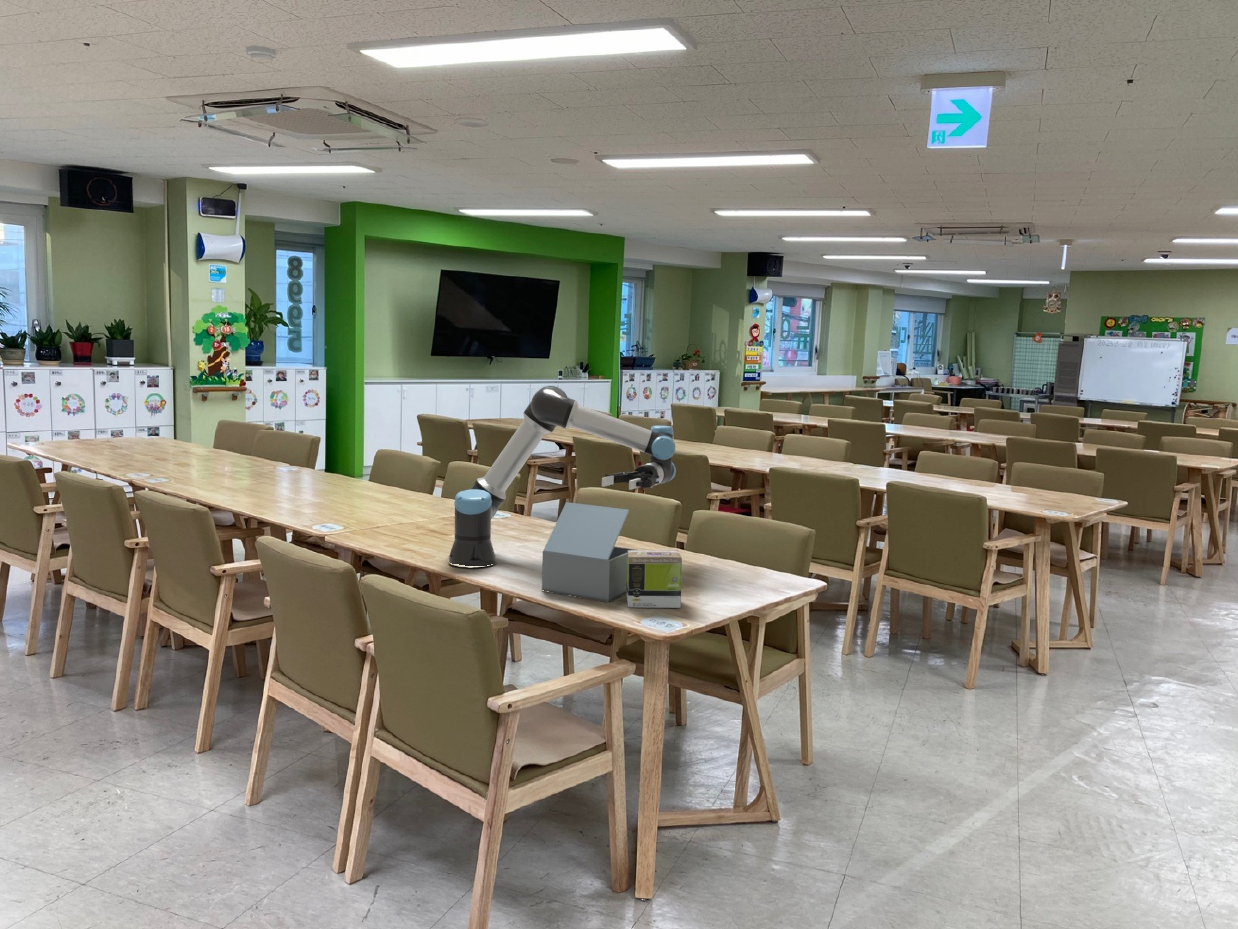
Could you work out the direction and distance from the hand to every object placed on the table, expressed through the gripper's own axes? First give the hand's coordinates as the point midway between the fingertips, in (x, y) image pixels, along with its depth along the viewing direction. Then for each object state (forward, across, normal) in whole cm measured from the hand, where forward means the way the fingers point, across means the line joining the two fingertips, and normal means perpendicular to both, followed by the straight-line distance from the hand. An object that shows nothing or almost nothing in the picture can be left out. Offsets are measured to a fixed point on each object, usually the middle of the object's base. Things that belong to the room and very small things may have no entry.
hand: (616, 483), depth 290 cm
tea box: (+18, -22, -30) cm, 42 cm away
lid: (+18, 0, -12) cm, 22 cm away
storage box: (+15, 0, -30) cm, 34 cm away
